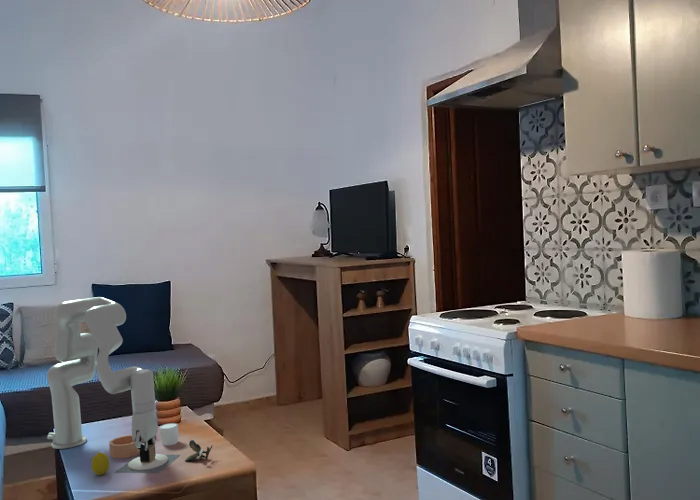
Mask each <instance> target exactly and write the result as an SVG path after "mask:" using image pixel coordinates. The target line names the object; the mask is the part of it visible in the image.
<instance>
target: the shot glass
mask: <svg viewBox="0 0 700 500" xmlns="http://www.w3.org/2000/svg"><path fill="white" fill-rule="evenodd" d="M158 431H159V435H160V441H161V445H162V446H173V445H176V444H177V443H178V442H179V424H178V423H175V422H173V423H172V422H170V423H165V424H162V425H160V426H158Z"/></svg>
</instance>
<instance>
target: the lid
mask: <svg viewBox="0 0 700 500" xmlns="http://www.w3.org/2000/svg"><path fill="white" fill-rule="evenodd" d="M147 450H149V459H150V461H149V462H141V461H140V457H137V458H135V457H134V458H135V459H133V458H132V459H133V460H132V459H131V460H130V462H129V461H128V462H129V463H128V462H127V463H128V468H129V469H131V470H135V471H144V470H150V469H155V468H158V467H160V466H162V465H164V464H166V463H167V461H168V457H167V456H166V455H167V454H162V453H156V449H155V450H154V445H148V449H147ZM155 454H156V456H155Z"/></svg>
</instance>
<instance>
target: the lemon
mask: <svg viewBox="0 0 700 500" xmlns="http://www.w3.org/2000/svg"><path fill="white" fill-rule="evenodd" d="M109 468H110V459H109V456H108V455H107V454H106V453H105V452H101V451H98V452H97V453H96V454H95V455H93V457H92V459H91V470H92V472H93V473H94V474H95V475H98V476H103V475H104V474H106V473H107V472H108V470H109Z"/></svg>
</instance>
